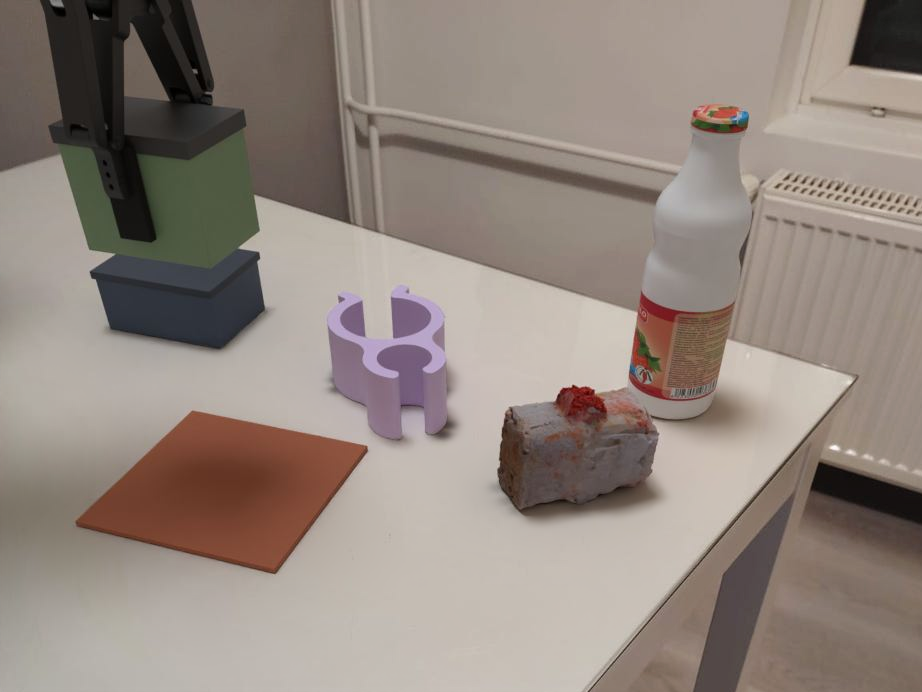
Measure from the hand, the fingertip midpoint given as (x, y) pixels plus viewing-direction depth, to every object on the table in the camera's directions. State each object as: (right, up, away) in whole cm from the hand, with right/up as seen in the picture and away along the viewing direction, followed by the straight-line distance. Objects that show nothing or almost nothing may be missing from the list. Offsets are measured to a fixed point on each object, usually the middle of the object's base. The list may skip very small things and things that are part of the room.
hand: (170, 217), depth 72 cm
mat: (+1, -19, +14) cm, 24 cm away
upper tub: (0, -1, +1) cm, 2 cm away
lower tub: (-11, +6, +38) cm, 40 cm away
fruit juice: (+45, -8, +26) cm, 53 cm away
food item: (+34, -19, +15) cm, 41 cm away
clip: (+15, -6, +27) cm, 32 cm away
